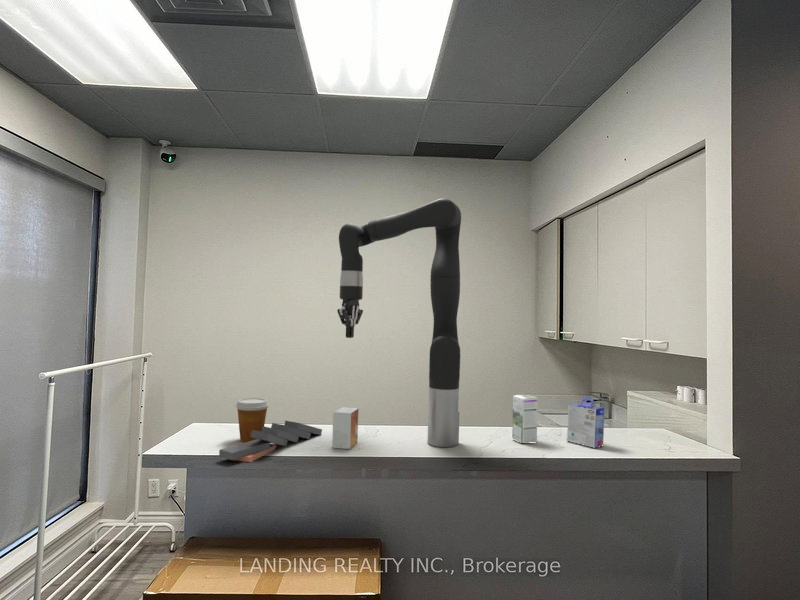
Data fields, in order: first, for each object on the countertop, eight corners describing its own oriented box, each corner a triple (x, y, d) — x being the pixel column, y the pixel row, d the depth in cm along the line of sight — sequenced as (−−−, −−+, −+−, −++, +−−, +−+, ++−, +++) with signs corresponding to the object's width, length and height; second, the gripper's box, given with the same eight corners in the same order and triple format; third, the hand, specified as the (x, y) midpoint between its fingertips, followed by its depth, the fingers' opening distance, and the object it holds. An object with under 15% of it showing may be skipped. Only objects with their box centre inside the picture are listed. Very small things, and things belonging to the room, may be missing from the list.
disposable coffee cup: (228, 443, 144) (230, 402, 145) (244, 435, 154) (245, 396, 154) (258, 446, 143) (260, 404, 143) (272, 437, 152) (274, 398, 152)
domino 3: (260, 442, 142) (233, 455, 129) (276, 444, 141) (250, 457, 128) (260, 448, 142) (233, 462, 129) (275, 450, 141) (250, 464, 128)
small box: (350, 449, 142) (351, 413, 142) (331, 448, 143) (332, 411, 143) (358, 442, 150) (359, 407, 150) (340, 441, 151) (341, 406, 151)
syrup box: (537, 443, 155) (538, 397, 155) (521, 445, 153) (523, 398, 153) (526, 438, 160) (527, 394, 160) (511, 440, 158) (512, 394, 158)
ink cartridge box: (604, 446, 154) (605, 400, 154) (595, 449, 150) (596, 402, 151) (575, 439, 162) (576, 395, 162) (566, 442, 158) (567, 396, 158)
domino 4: (284, 433, 150) (262, 426, 138) (299, 436, 148) (278, 429, 137) (282, 439, 149) (260, 432, 138) (297, 442, 147) (276, 435, 136)
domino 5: (298, 431, 154) (272, 422, 144) (310, 433, 152) (285, 425, 141) (296, 436, 154) (270, 429, 143) (309, 439, 152) (284, 431, 141)
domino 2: (272, 436, 145) (252, 429, 133) (287, 440, 143) (268, 433, 132) (270, 442, 144) (250, 436, 132) (285, 446, 143) (266, 440, 131)
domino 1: (257, 439, 139) (219, 449, 128) (270, 442, 136) (232, 453, 125) (257, 445, 139) (219, 456, 128) (270, 448, 136) (232, 460, 125)
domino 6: (309, 427, 160) (285, 420, 149) (322, 429, 157) (298, 422, 147) (308, 432, 159) (283, 426, 148) (320, 435, 157) (297, 429, 146)
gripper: (350, 284, 155) (348, 339, 155) (371, 286, 167) (369, 337, 167) (330, 284, 158) (328, 337, 158) (351, 286, 170) (350, 336, 170)
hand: (349, 337), depth 162 cm, fingers closed
